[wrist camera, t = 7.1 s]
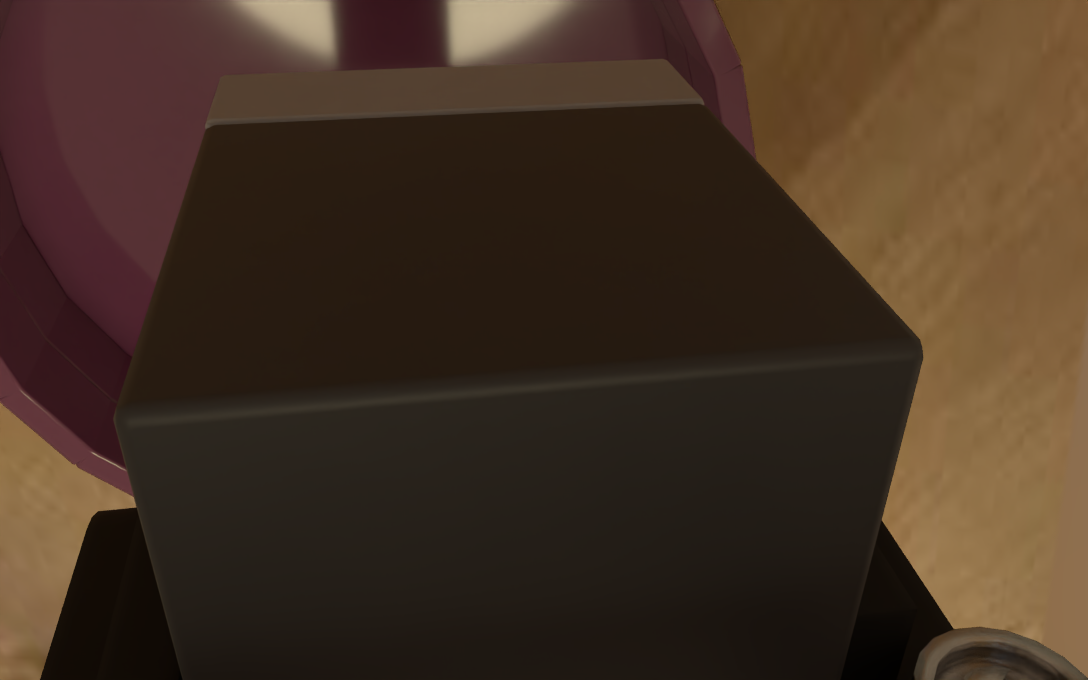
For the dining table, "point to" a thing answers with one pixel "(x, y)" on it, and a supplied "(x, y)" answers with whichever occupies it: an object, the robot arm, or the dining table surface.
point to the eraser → (505, 388)
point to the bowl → (176, 134)
